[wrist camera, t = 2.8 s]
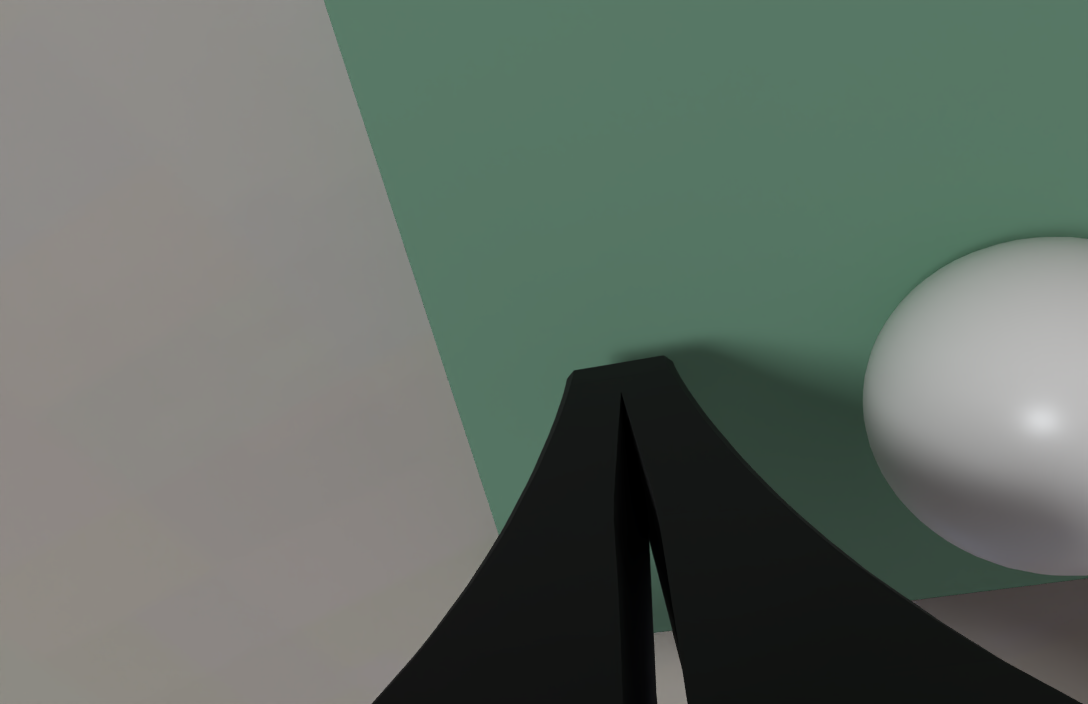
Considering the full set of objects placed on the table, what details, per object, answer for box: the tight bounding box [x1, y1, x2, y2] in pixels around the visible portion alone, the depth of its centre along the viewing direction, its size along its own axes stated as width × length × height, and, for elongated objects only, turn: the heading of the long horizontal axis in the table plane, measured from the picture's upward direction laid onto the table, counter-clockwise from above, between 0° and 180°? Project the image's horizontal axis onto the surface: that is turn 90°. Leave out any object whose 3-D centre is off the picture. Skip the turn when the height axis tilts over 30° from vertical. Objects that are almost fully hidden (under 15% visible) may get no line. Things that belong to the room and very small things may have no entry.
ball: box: [863, 237, 1088, 576], centre depth 10 cm, size 4×4×4 cm
